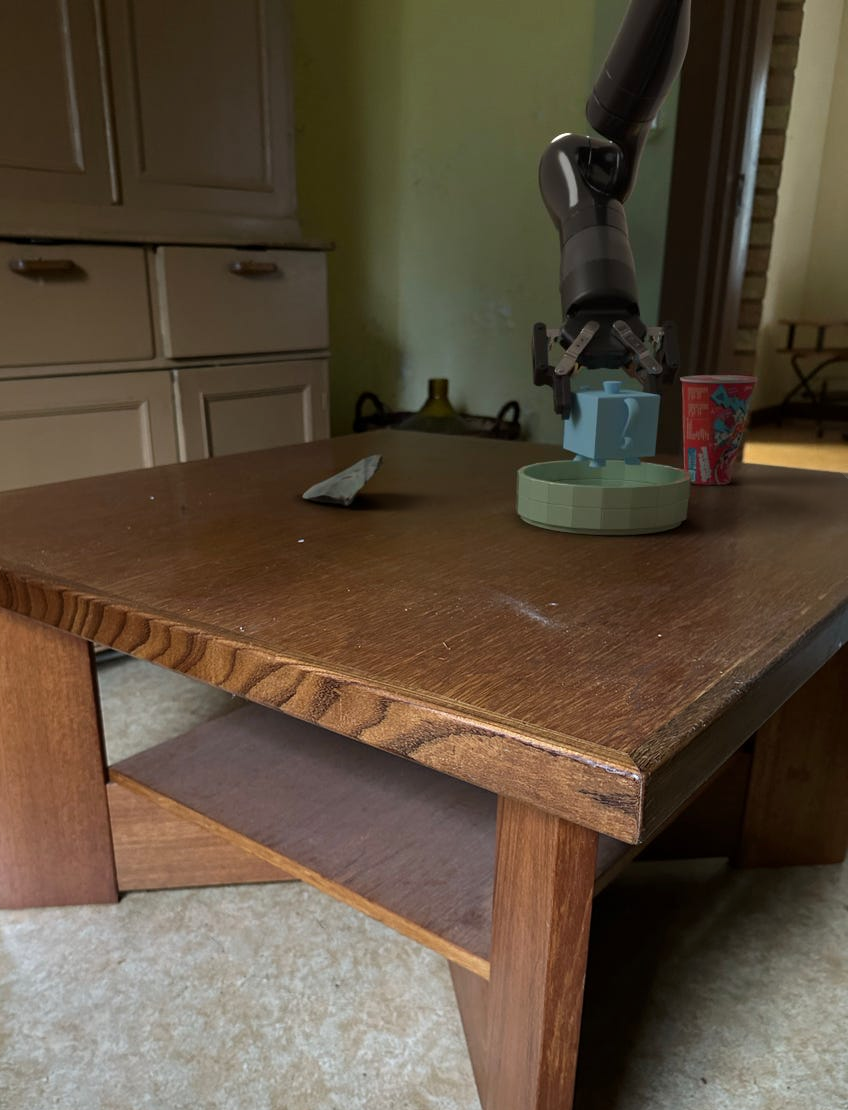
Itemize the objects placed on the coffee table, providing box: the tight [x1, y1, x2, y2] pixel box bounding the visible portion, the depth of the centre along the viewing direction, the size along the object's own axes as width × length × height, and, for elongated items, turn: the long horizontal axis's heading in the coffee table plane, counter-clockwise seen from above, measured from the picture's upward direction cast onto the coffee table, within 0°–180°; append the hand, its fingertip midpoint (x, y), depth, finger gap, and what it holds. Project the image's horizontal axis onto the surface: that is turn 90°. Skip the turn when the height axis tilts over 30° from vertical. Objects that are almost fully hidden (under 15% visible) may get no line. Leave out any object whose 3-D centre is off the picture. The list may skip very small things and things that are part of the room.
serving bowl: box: [515, 459, 692, 536], centre depth 90 cm, size 16×16×4 cm
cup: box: [679, 374, 759, 486], centre depth 107 cm, size 9×8×12 cm
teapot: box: [562, 380, 660, 467], centre depth 88 cm, size 12×6×8 cm, turn 11°
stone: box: [302, 454, 384, 507], centre depth 100 cm, size 11×4×10 cm
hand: (609, 414), depth 86 cm, fingers closed on teapot, 7 cm apart
